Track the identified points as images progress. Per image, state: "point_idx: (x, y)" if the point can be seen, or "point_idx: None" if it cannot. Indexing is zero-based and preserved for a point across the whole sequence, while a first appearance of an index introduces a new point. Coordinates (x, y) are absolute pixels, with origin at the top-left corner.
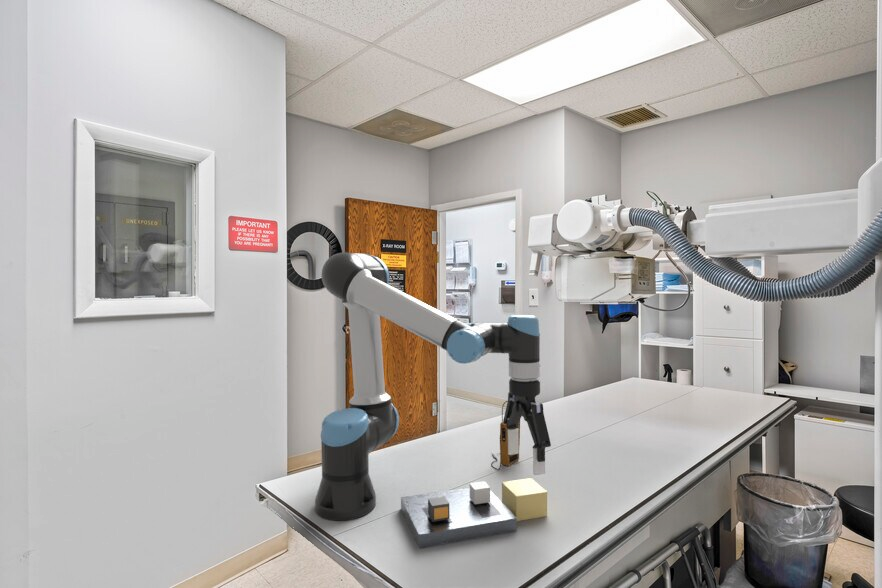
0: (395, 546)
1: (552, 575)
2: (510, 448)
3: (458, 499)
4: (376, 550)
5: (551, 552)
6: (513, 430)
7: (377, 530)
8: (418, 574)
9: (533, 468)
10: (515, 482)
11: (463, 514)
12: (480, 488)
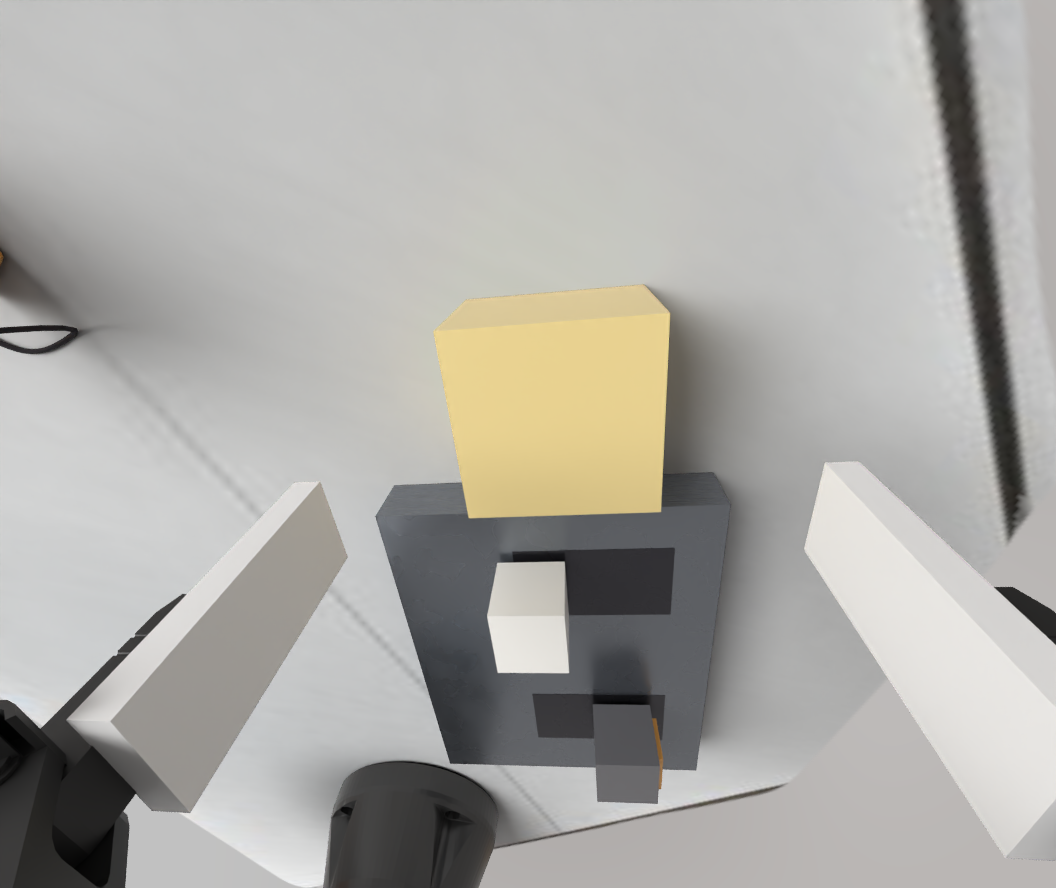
0: None
1: (1050, 467)
2: (317, 590)
3: None
4: None
5: (927, 406)
6: (164, 756)
7: (563, 775)
8: (796, 747)
9: (836, 589)
10: (486, 453)
11: (622, 657)
12: (565, 653)
